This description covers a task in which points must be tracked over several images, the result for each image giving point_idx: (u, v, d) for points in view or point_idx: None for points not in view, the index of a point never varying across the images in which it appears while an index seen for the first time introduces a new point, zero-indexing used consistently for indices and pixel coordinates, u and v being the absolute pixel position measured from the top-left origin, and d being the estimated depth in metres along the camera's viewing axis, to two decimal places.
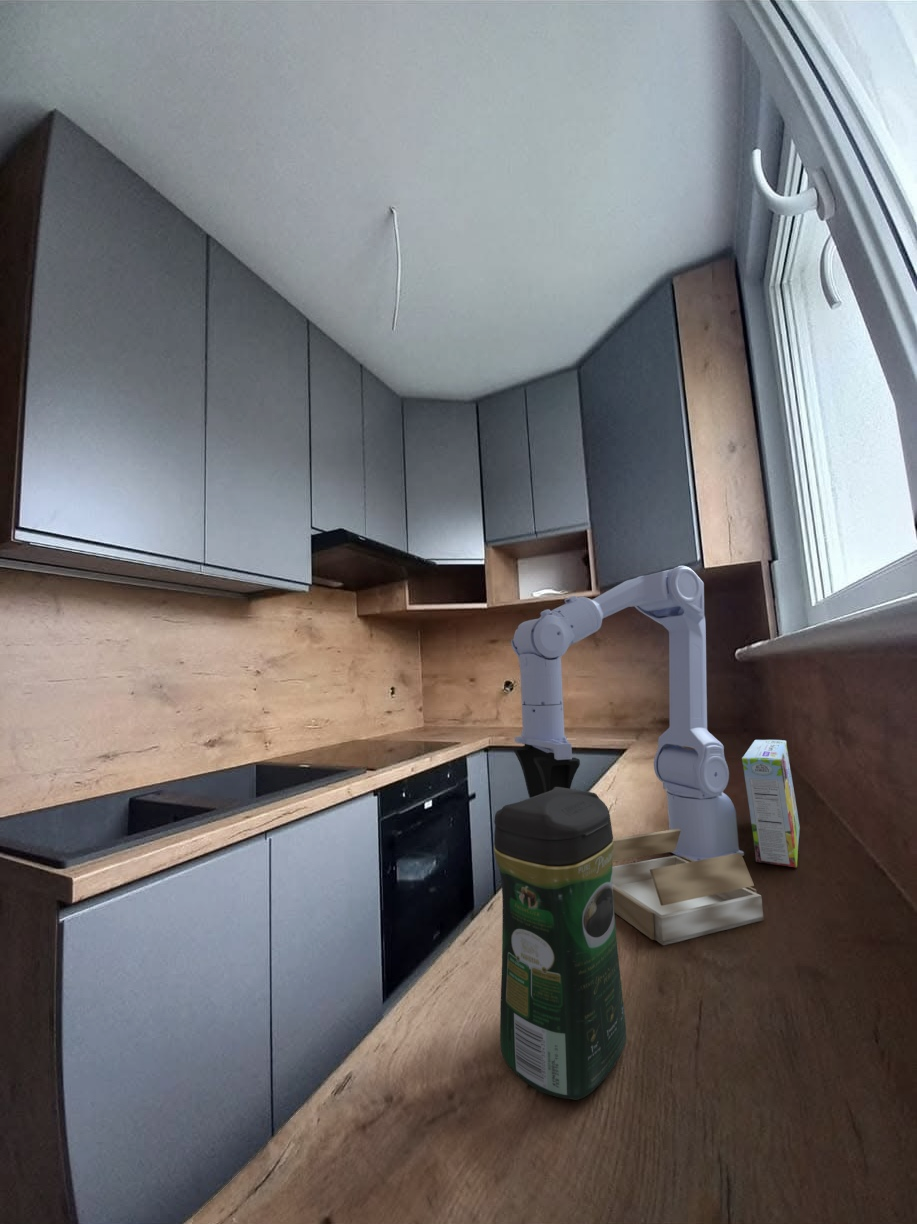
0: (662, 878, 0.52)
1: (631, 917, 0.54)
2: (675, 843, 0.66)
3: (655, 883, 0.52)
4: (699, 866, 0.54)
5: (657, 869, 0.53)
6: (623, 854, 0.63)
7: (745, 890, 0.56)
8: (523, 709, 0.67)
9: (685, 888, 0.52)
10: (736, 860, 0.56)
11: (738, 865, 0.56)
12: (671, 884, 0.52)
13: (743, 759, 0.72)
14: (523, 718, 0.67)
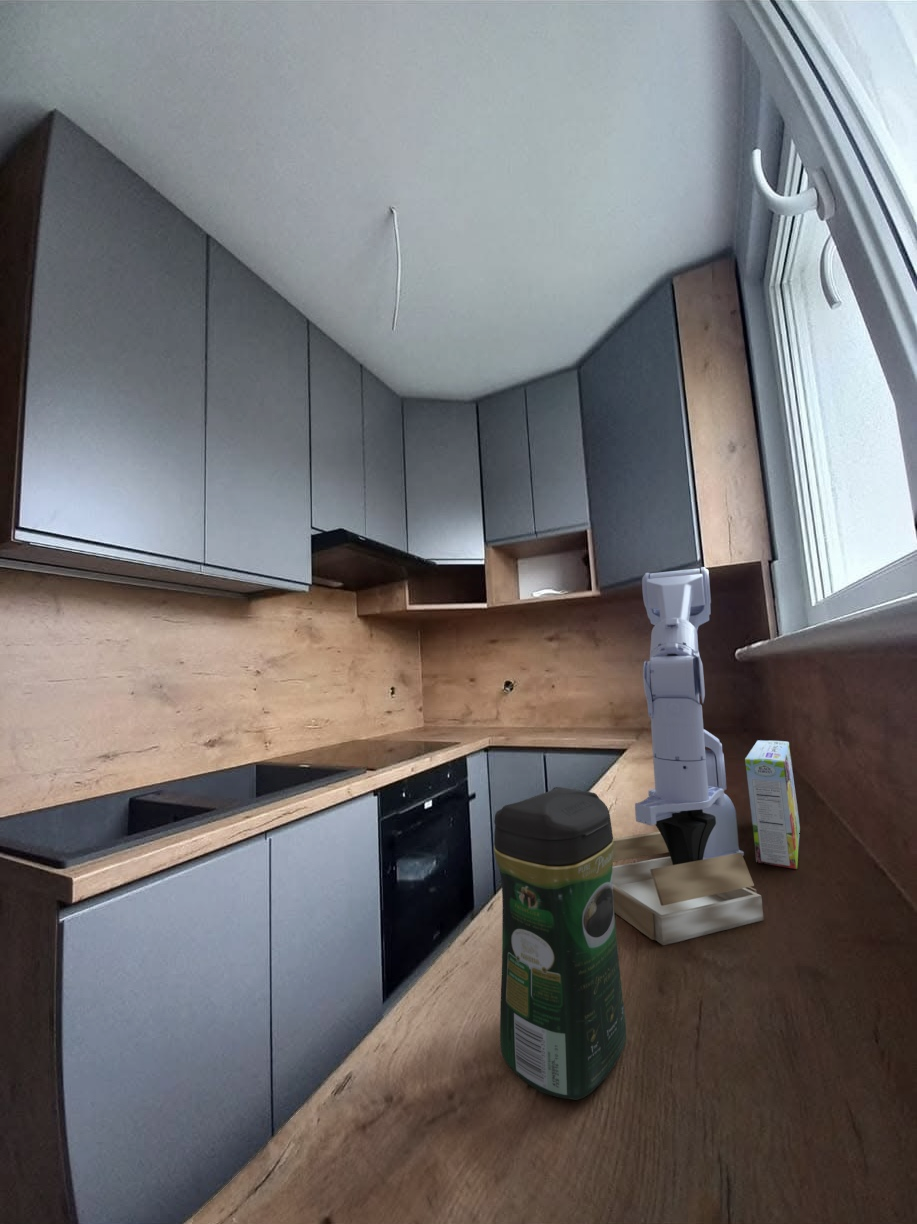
0: (663, 878, 0.52)
1: (631, 917, 0.54)
2: None
3: (655, 883, 0.52)
4: (699, 866, 0.54)
5: (657, 869, 0.52)
6: (623, 854, 0.63)
7: (745, 890, 0.56)
8: None
9: (685, 888, 0.52)
10: (736, 860, 0.56)
11: (738, 865, 0.56)
12: (671, 884, 0.52)
13: (746, 760, 0.72)
14: None
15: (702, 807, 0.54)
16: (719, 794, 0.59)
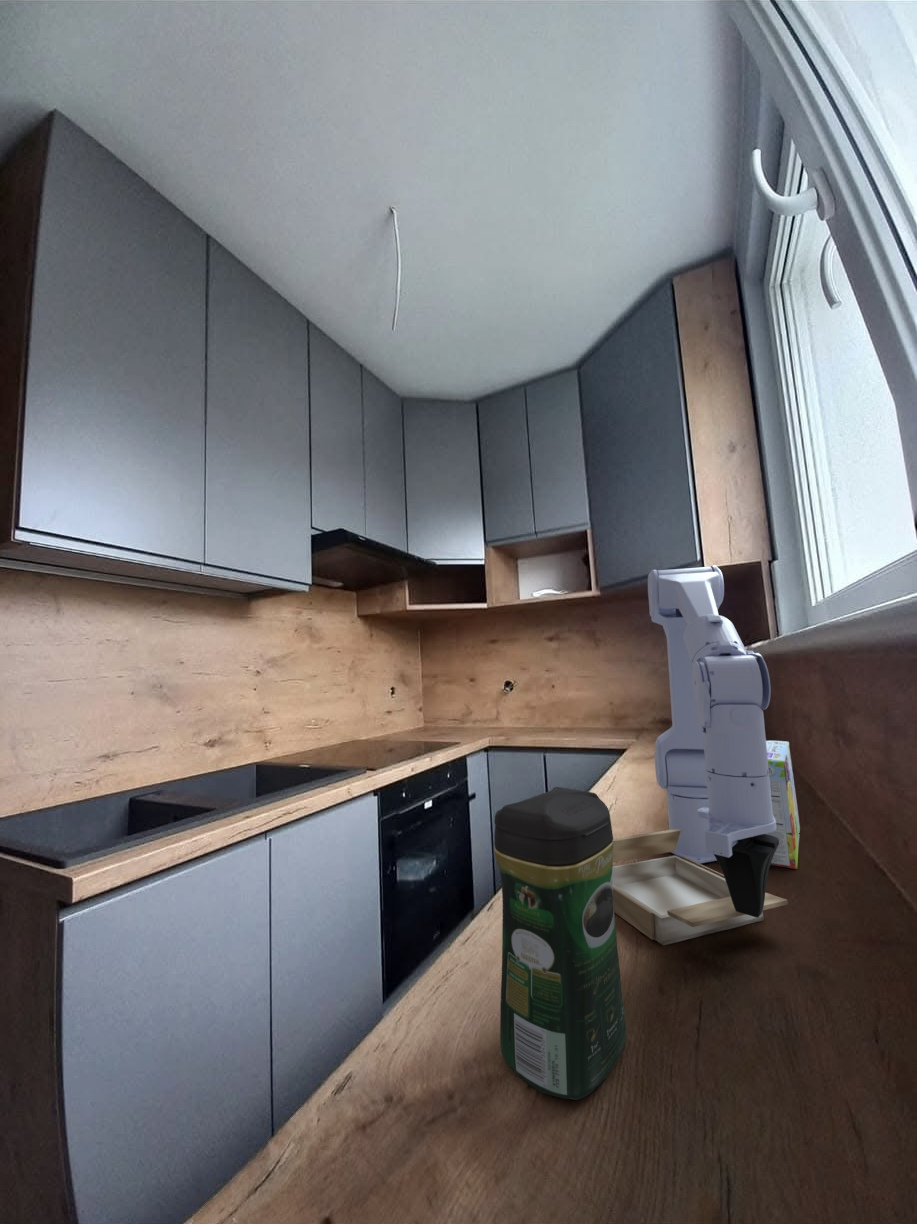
0: None
1: (631, 917, 0.54)
2: (675, 843, 0.66)
3: (682, 920, 0.48)
4: None
5: (697, 925, 0.47)
6: (623, 854, 0.63)
7: None
8: None
9: None
10: None
11: None
12: None
13: None
14: None
15: (772, 829, 0.47)
16: None
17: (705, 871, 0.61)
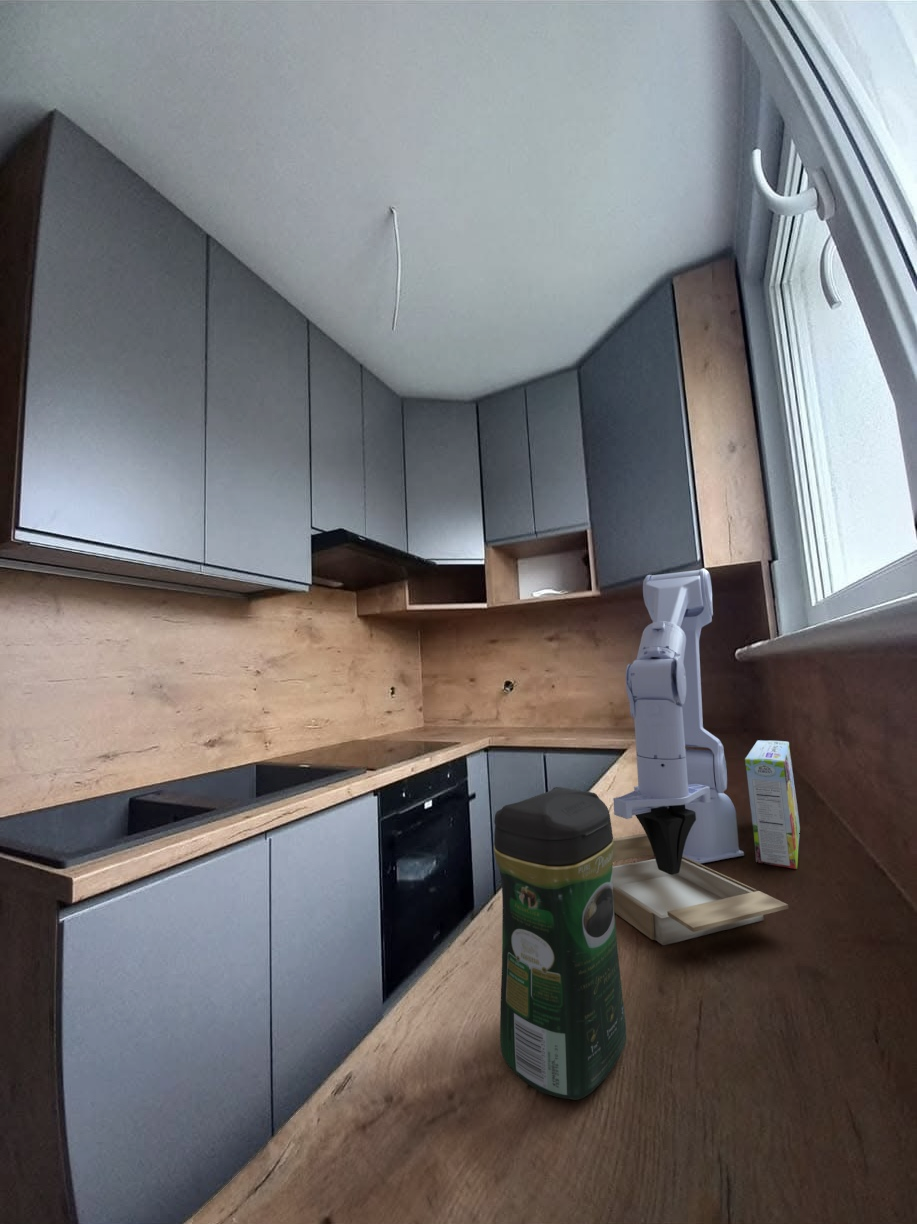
0: None
1: (631, 917, 0.54)
2: None
3: (682, 923, 0.48)
4: None
5: (698, 930, 0.47)
6: (623, 854, 0.63)
7: (745, 890, 0.56)
8: (641, 757, 0.63)
9: None
10: None
11: None
12: None
13: (746, 760, 0.72)
14: None
15: (679, 803, 0.57)
16: (704, 792, 0.61)
17: (705, 871, 0.61)
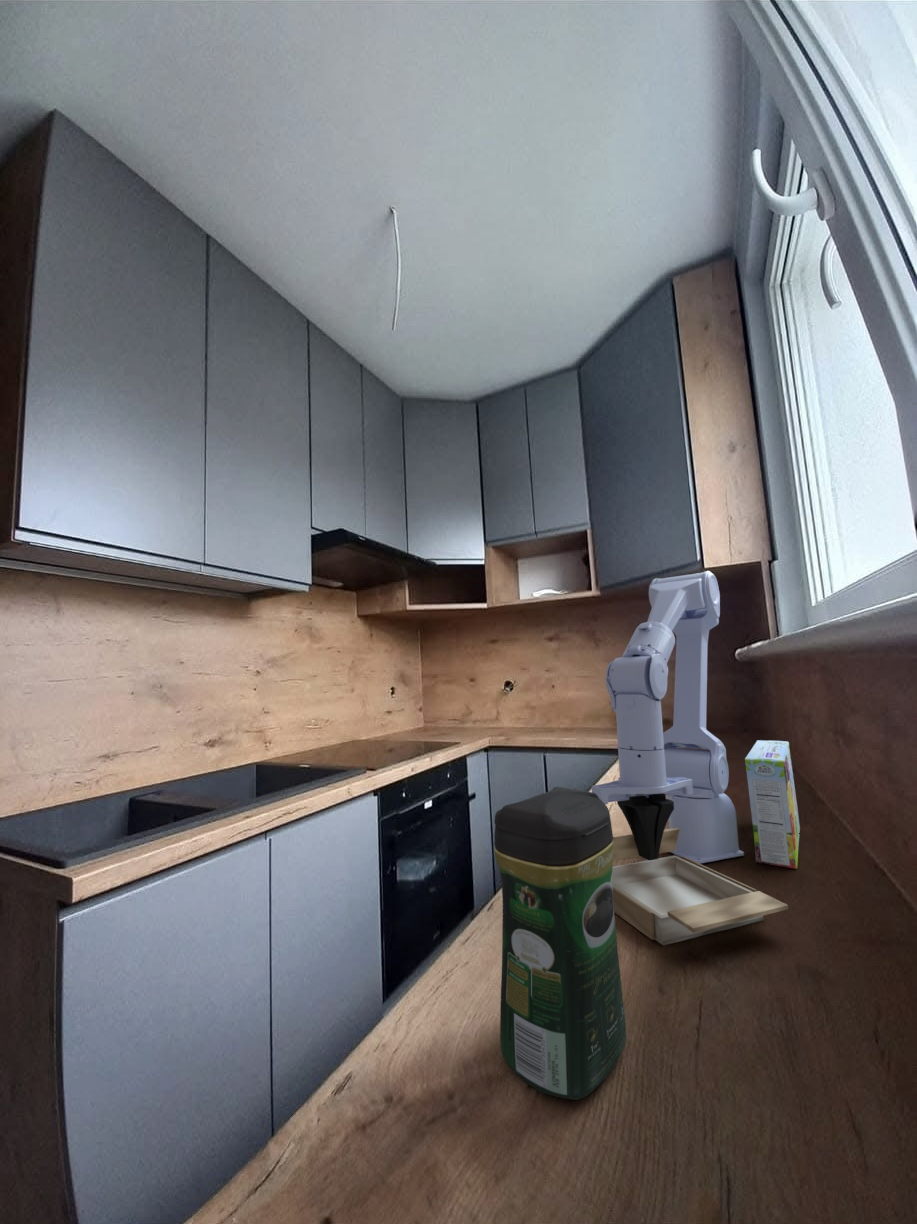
0: None
1: (631, 917, 0.54)
2: (674, 842, 0.66)
3: (682, 923, 0.48)
4: None
5: (698, 930, 0.47)
6: (623, 853, 0.63)
7: (745, 890, 0.56)
8: None
9: None
10: None
11: None
12: None
13: (746, 760, 0.72)
14: None
15: (654, 792, 0.60)
16: (685, 784, 0.64)
17: (705, 871, 0.61)
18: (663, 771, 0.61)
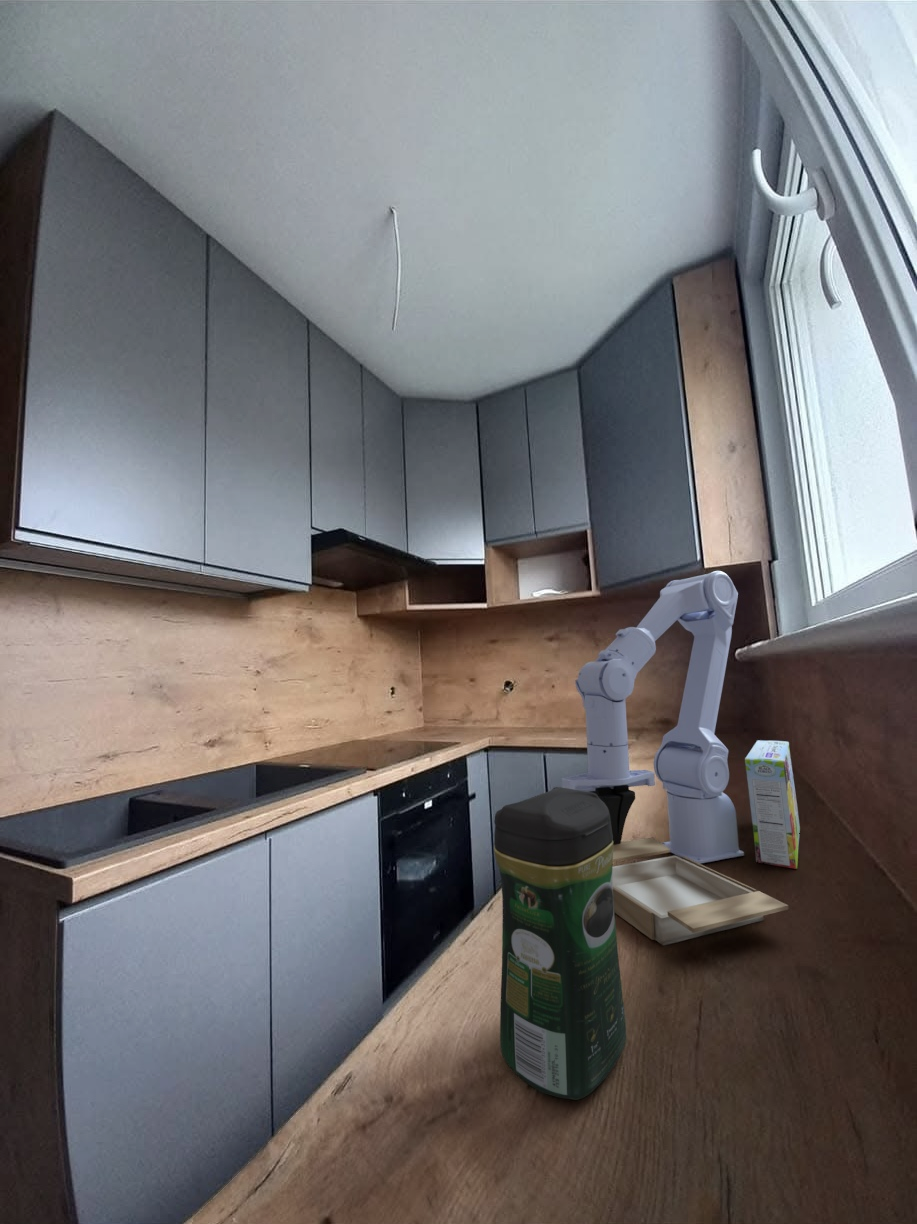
0: None
1: (631, 917, 0.54)
2: (661, 844, 0.68)
3: (682, 924, 0.48)
4: None
5: (698, 930, 0.47)
6: (613, 854, 0.65)
7: (745, 890, 0.56)
8: None
9: None
10: None
11: None
12: None
13: (746, 760, 0.72)
14: None
15: (617, 783, 0.67)
16: (648, 776, 0.71)
17: (705, 871, 0.61)
18: (626, 765, 0.68)
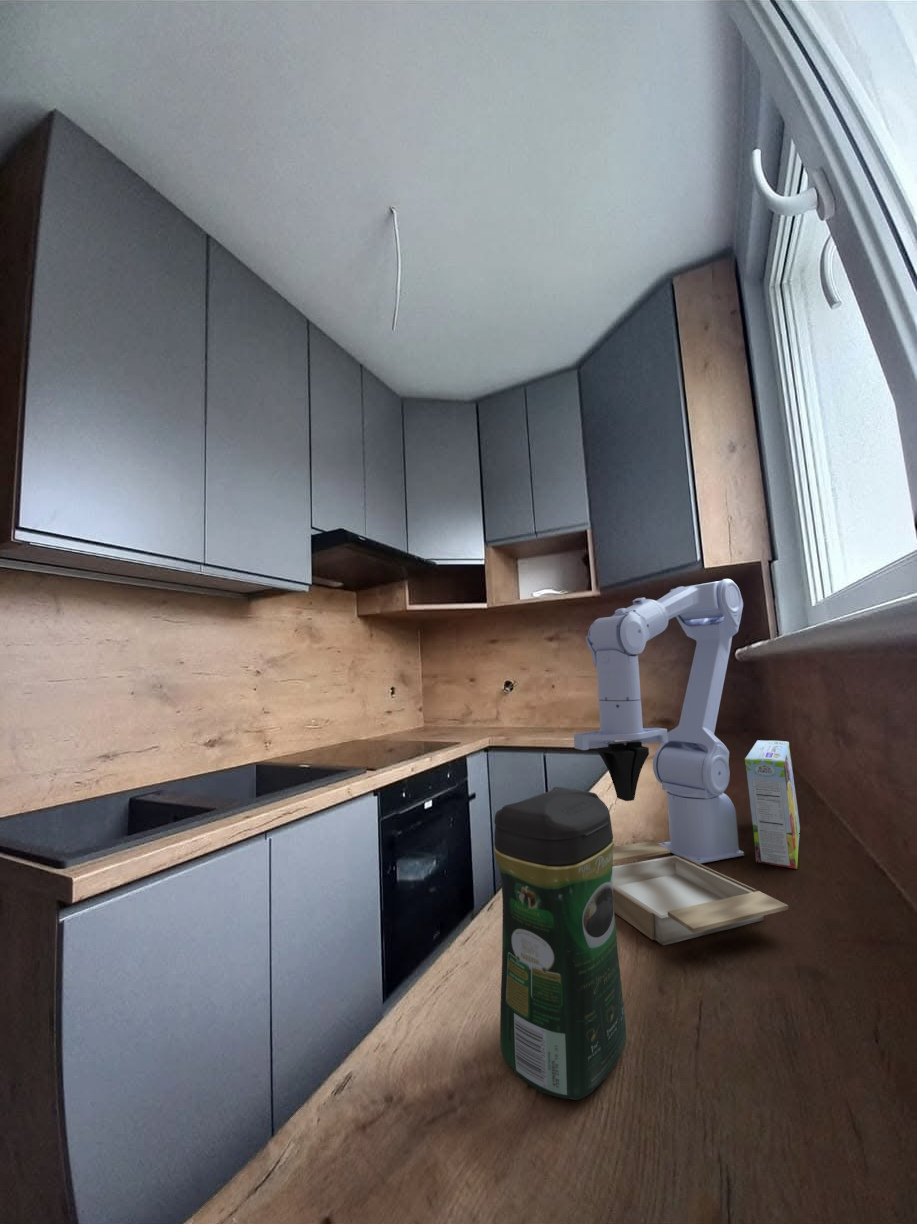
0: None
1: (631, 917, 0.54)
2: (661, 846, 0.68)
3: (682, 924, 0.48)
4: None
5: (698, 930, 0.47)
6: (613, 856, 0.65)
7: (745, 890, 0.56)
8: None
9: None
10: None
11: None
12: None
13: (746, 760, 0.72)
14: None
15: (631, 738, 0.65)
16: (661, 732, 0.69)
17: (705, 871, 0.61)
18: (639, 720, 0.66)
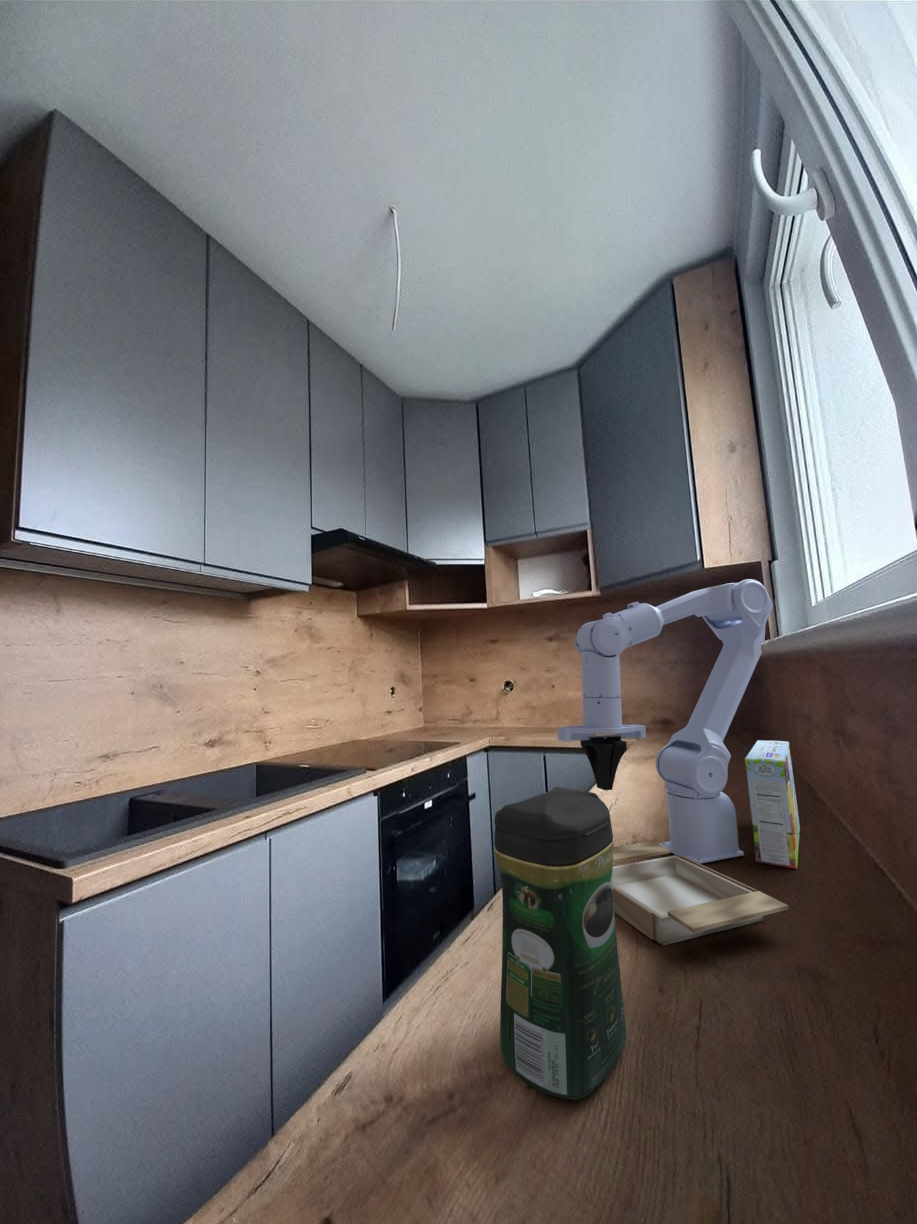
0: None
1: (631, 917, 0.54)
2: (661, 846, 0.68)
3: (682, 924, 0.48)
4: None
5: (698, 930, 0.47)
6: (613, 856, 0.65)
7: (745, 890, 0.56)
8: None
9: None
10: None
11: None
12: None
13: (746, 760, 0.72)
14: None
15: (610, 732, 0.71)
16: (639, 729, 0.75)
17: (705, 871, 0.61)
18: (619, 716, 0.72)
